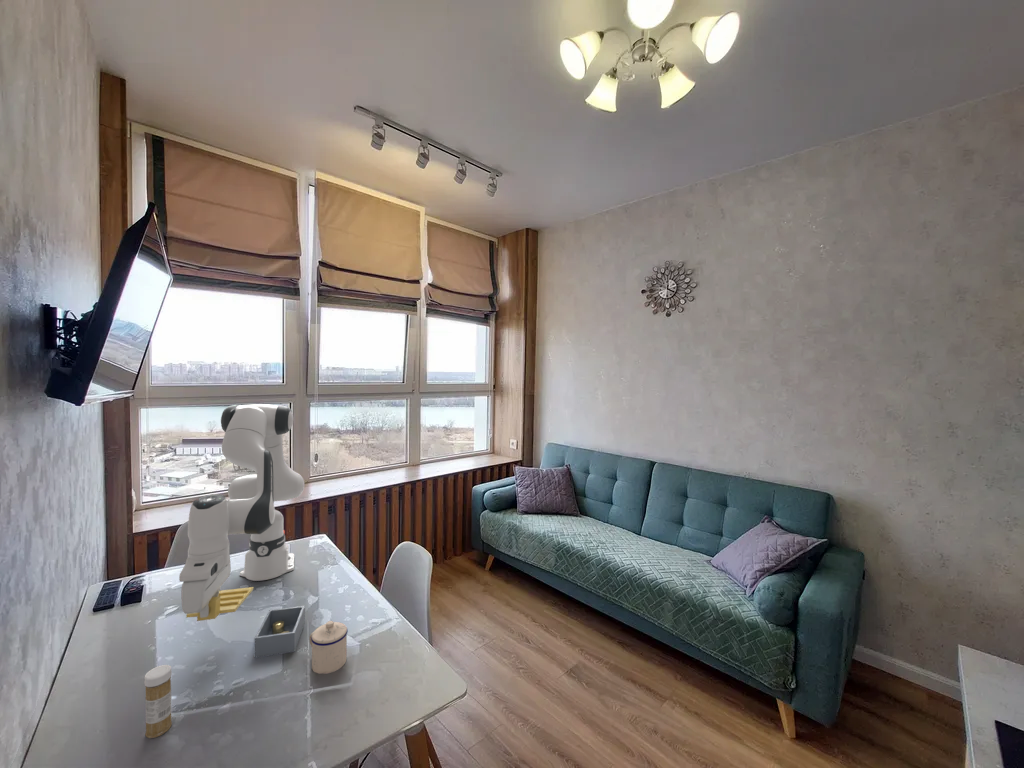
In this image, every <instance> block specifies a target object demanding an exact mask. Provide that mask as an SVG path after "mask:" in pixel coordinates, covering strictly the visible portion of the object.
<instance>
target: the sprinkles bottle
mask: <svg viewBox="0 0 1024 768" xmlns="http://www.w3.org/2000/svg"><path fill="white" fill-rule="evenodd" d="M172 672H173V670H172V666H171V665H169V664H161V665H158V666H156V667H154V668H151V669H150V670H148V671H147V672H146V674H145V675H144V687H145V701H144V703H145V706H144V707H145V709H144V710H145V737H146V738H148V739H155V738H158V737H160V736H162V735H164V734H165V733H166V732H168V731H169V730H170V729H171V727H172V725H173V721H172V679H171V678H172V675H173V673H172Z"/></svg>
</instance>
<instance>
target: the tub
mask: <svg viewBox="0 0 1024 768" xmlns="http://www.w3.org/2000/svg"><path fill="white" fill-rule="evenodd" d="M277 621H284V632H285V631H289V632H288V633H281V634H274V635H273V624H274V623H275V622H277ZM305 624H306V605H300V606H291V607H284V608H275V609H270V610H268V612H267V613H266V616H265V617H264V619H263V622H262V624H261V625H260V627H259V629H258V631H257V632H256V635H255V637H254V648H253V649H254V651H253V652H254V653H253V654H254V655H253V656H254V658H262V657H270V656H275V655H276V656H277V655H283V654H288V653H295V651H296V649H297V646H298V643H299V641H300V639H301V634H302V632H303V630H304V626H305Z"/></svg>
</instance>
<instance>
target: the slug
mask: <svg viewBox="0 0 1024 768" xmlns="http://www.w3.org/2000/svg"><path fill="white" fill-rule="evenodd" d="M282 632H284V621H277V622H275V623H274V624H273V635H274V634H280V633H282Z"/></svg>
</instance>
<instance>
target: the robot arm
mask: <svg viewBox="0 0 1024 768" xmlns="http://www.w3.org/2000/svg"><path fill="white" fill-rule="evenodd" d="M294 419H295V418H294V415H293V411H292V409H291V408H290V407H288V406H285V405H283V404H282V405H281V404H279V405H275V404H265V403H264V404H263V403H259V404H242V405H241V404H234V405H229V406H227V407H226V408H225V409H224V410H223V411H222V413H221V417H220V427H221V429H222V431H224V435H223V439H222V444H221V453H222V455H223V457H224V458H225V459H226V460H227V461H229V462H230V463H231V464H233V465H235V466H238V467H242V468H245V469H248V470H251V471H254V472H255V473H256V474H255V473H254V474H247V475H243V476H238V477H235V478H234V479H233V480H232V481H231V482H230V484H229V485H228V489H227V494H228V498H229V499H227V497H226V495H223V494H219V493H215V494H214V493H212V494H207V495H204V496H200V497H198V498H196V499H194V500H193V502H192V503H191V506H190V509H189V514H188V521H187V522H188V523H187V537H188V540H189V546H188V548H187V558H186V560H185V564H184V565H183V568H182V570H181V571H180V573H179V578H178V580H179V582H180V583H181V582H182V584H181V589H180V590H181V610H182V612H183V613H184V614H185V615H187V614H191V613H198V612H200V617H201V618H204V617H207V616H208V615H209V614H210V607H209V606H208V604H209V601H210V599H211V598H212V597H218V595H219V591H221V588H222V586H223V585H224V584H225V582H226V581H228V579H229V577H230V575H231V571H232V567H231V555H230V540H229V535H244V534H245V535H250V538H249V543H248V546H249V548H248V549H249V550H248V551H247V552H246V553H245V555H244V566H243V568H244V569H243V570H241V571H240V572H239V576H241V577H244V578H246V579H247V580H248V581H252V582H253V581H254V582H255V581H256V582H257V581H258V582H259V581H266V580H271V579H275V578H277V577H279V576H282V575H284V574H286V573H288V572H291V571H294V570H295V553H293V552H290V551H289V544H288V543H287V542H286V535H285V534H286V530H285V529H284V515H283V514H282V512H281V511H279V510H277V509H275V508H276V507H275V503H274V502H282V501H283V502H285V501H290V500H293V499H297V498H299V497H300V496H301V495H302V494H303V492H304V490H305V479H304V477H303V476H302V475H301V474H300V473H298V472H297V471H295V470H293V469H292V468H291V467H290V466H289V465H288V463H287V462H286V460H285V456H284V455H285V454H284V447H283V445H284V444H283V443H284V442H283V435H284V434H287V433H288V432H290V431H291V429H292V427H293V424H294Z"/></svg>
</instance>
